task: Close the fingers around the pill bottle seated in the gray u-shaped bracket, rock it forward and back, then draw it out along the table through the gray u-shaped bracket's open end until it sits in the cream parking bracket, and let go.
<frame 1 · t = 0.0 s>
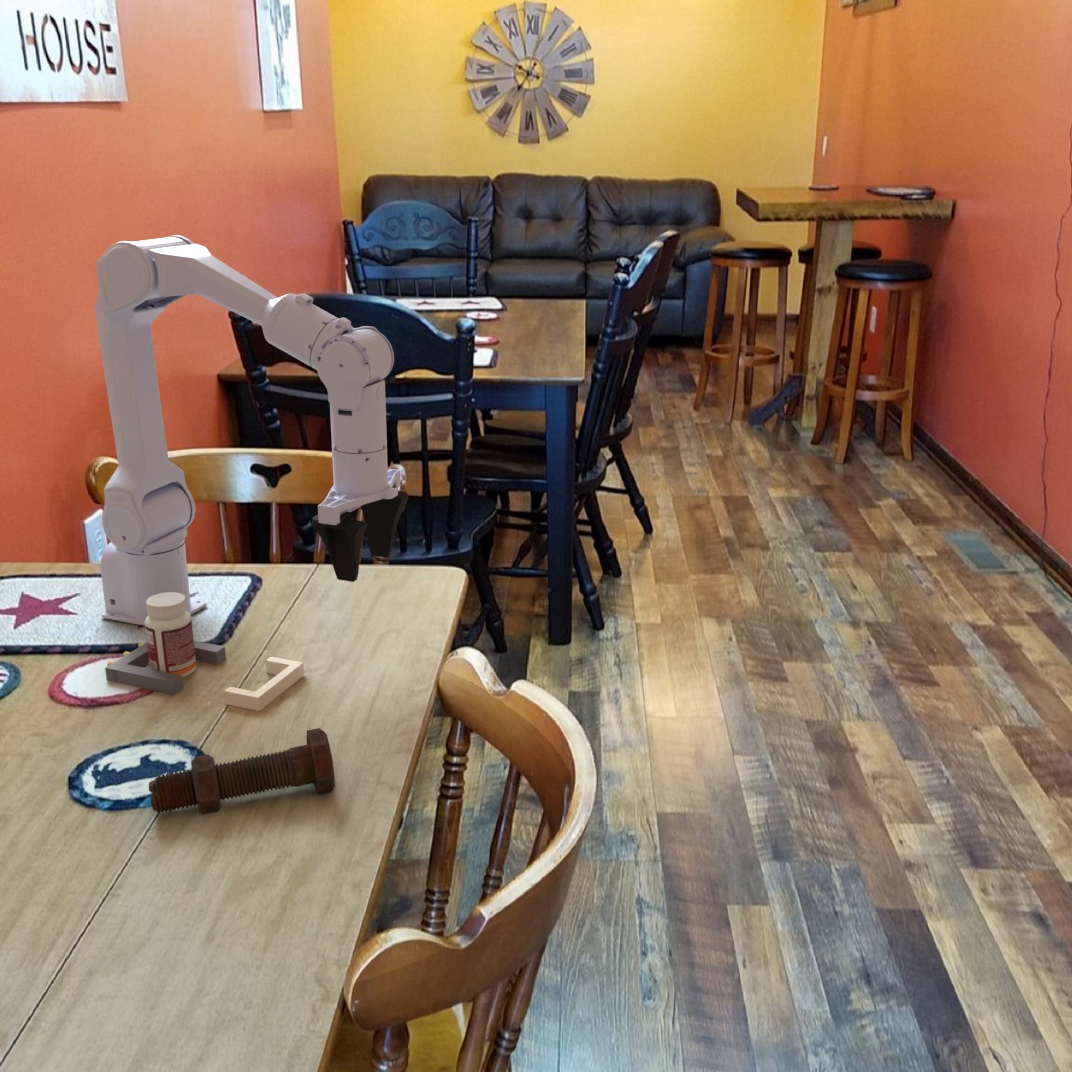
hand: (364, 567, 122), 10 cm above the table, fingers open, 7 cm apart
pill bottle: (173, 672, 120), on the table
bolt: (244, 801, 98), on the table
parking bracket: (278, 691, 116), on the table
gray u-shaped bracket: (173, 670, 120), on the table
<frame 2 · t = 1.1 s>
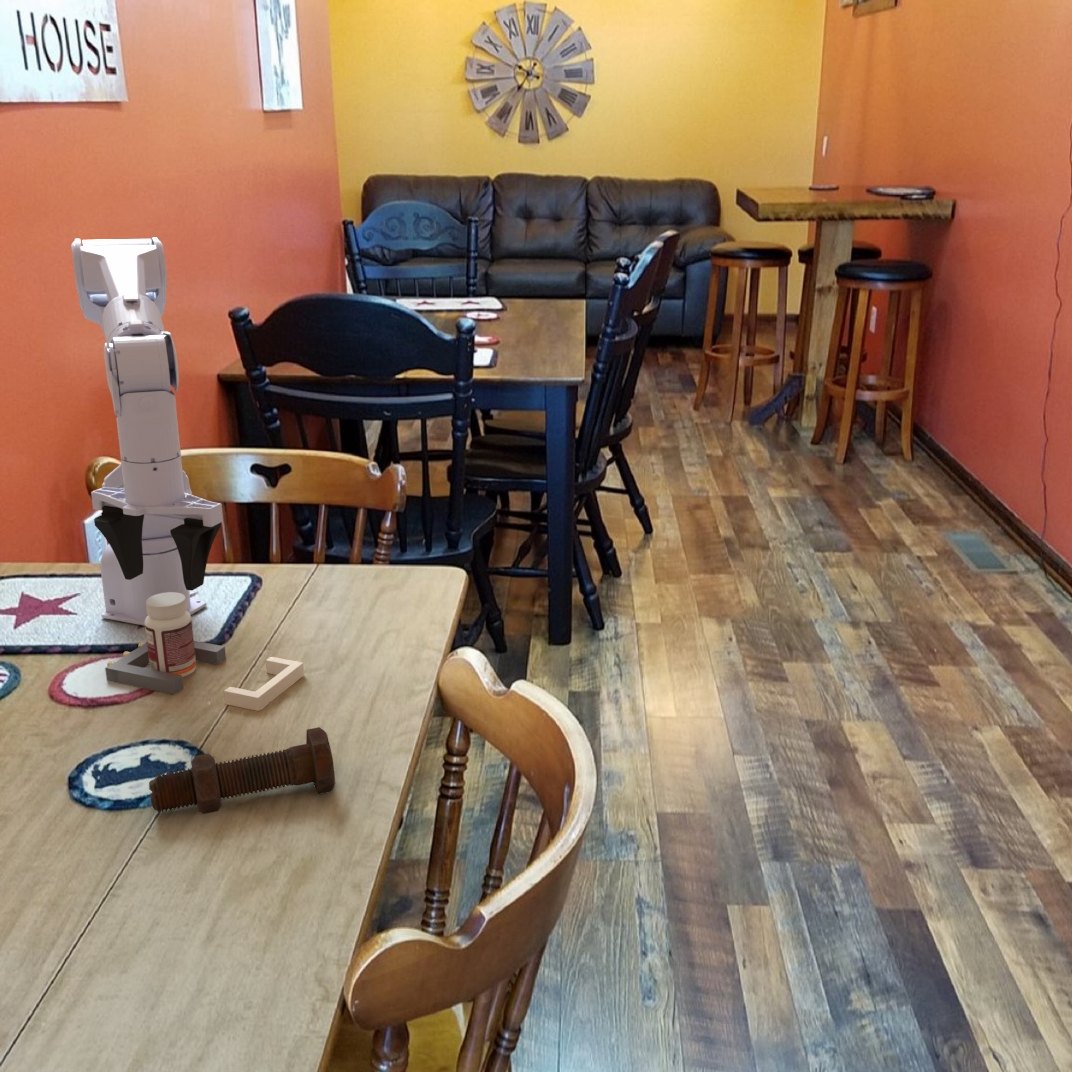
hand: (164, 581, 117), 10 cm above the table, fingers open, 7 cm apart
nothing on the table moved.
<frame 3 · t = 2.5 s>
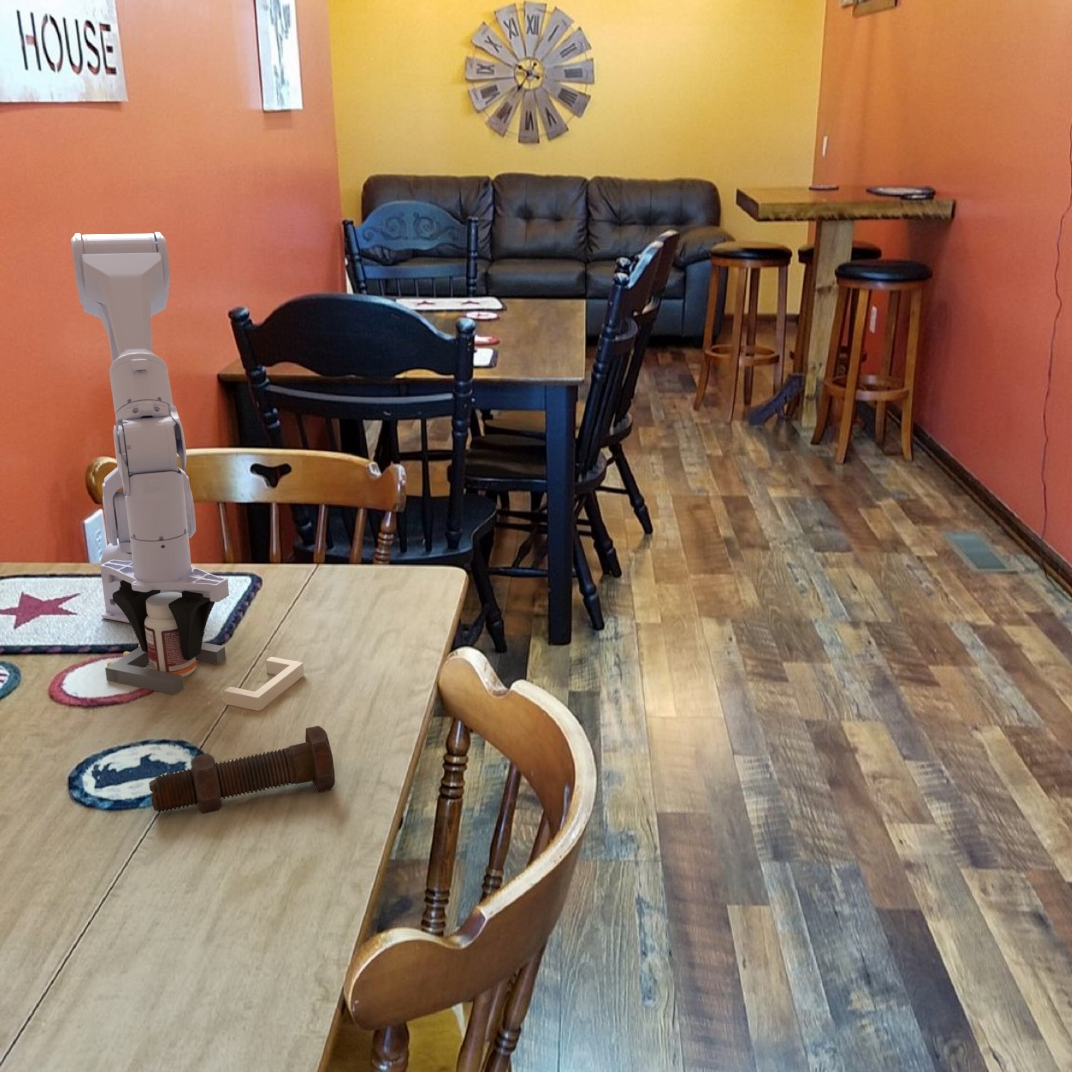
hand: (171, 652, 119), 2 cm above the table, fingers closed on pill bottle, 5 cm apart
pill bottle: (173, 672, 120), on the table, touching gripper
everything else where it was.
when the fingers open (2 cm above the table, at t = 4.0 s): pill bottle stays where it is, on the table.
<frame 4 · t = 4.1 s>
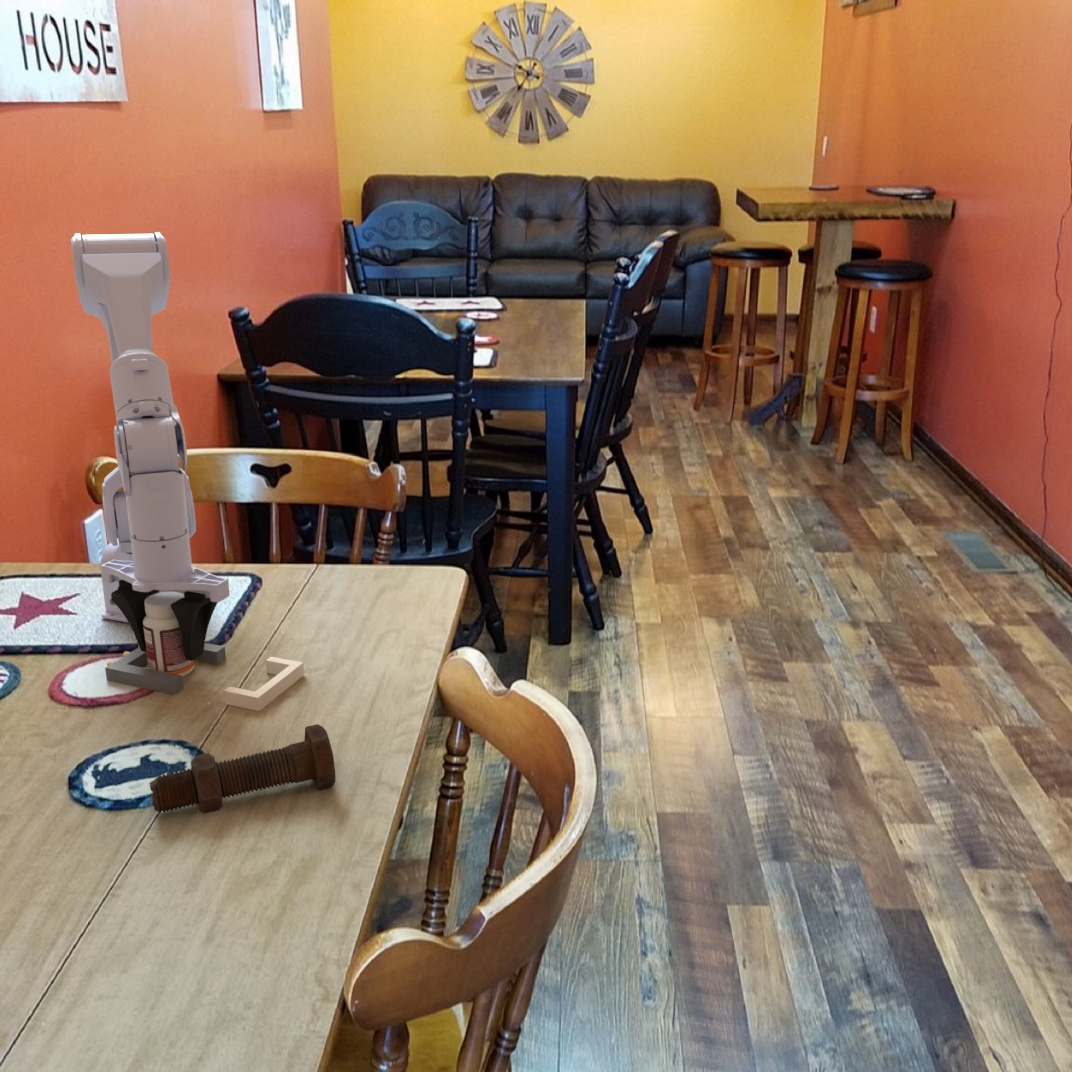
hand: (172, 652, 119), 2 cm above the table, fingers open, 5 cm apart
pill bottle: (172, 672, 120), on the table, touching gripper
everything else where it was.
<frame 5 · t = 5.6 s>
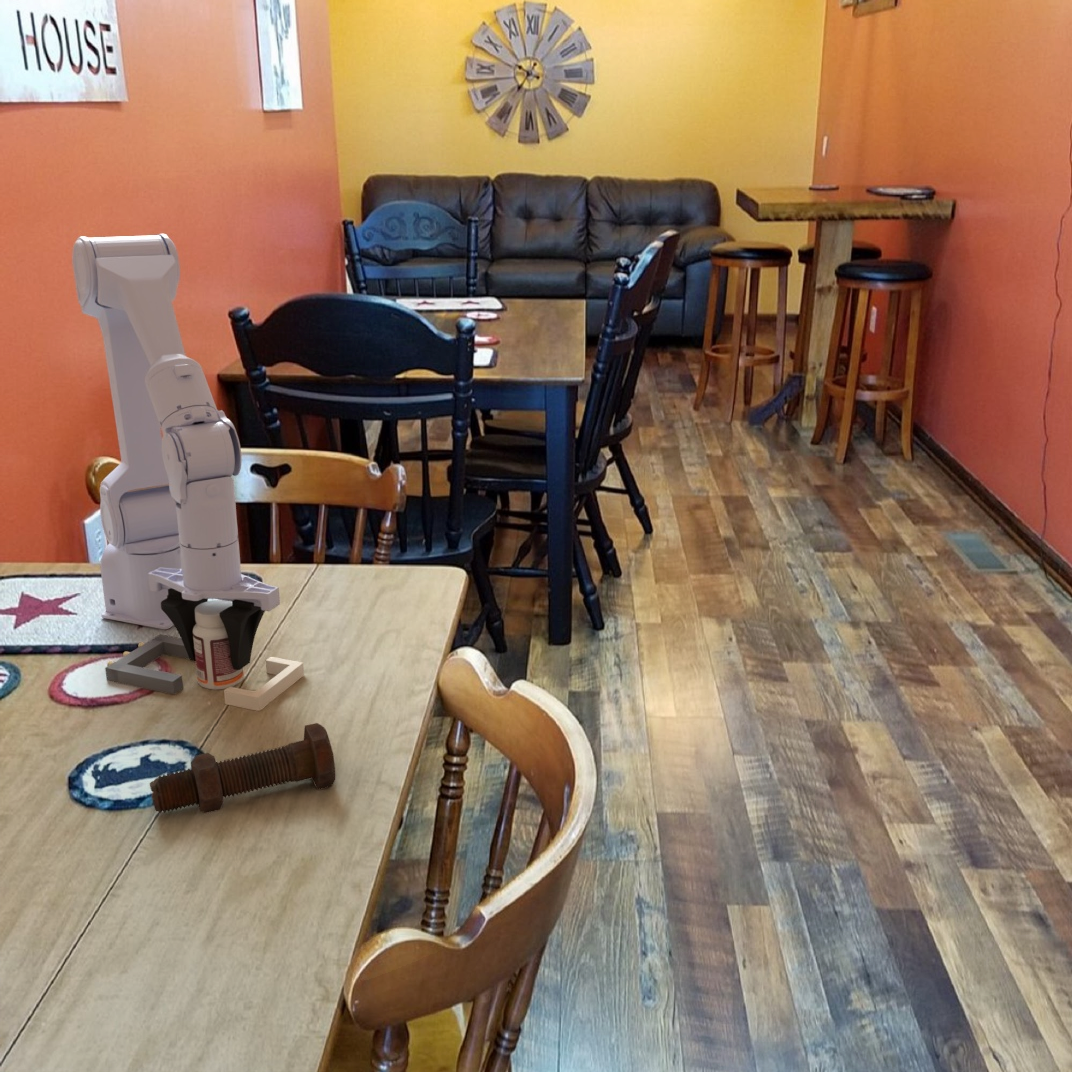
hand: (219, 661, 117), 2 cm above the table, fingers open, 5 cm apart
pill bottle: (220, 681, 118), on the table, touching gripper
everything else where it was.
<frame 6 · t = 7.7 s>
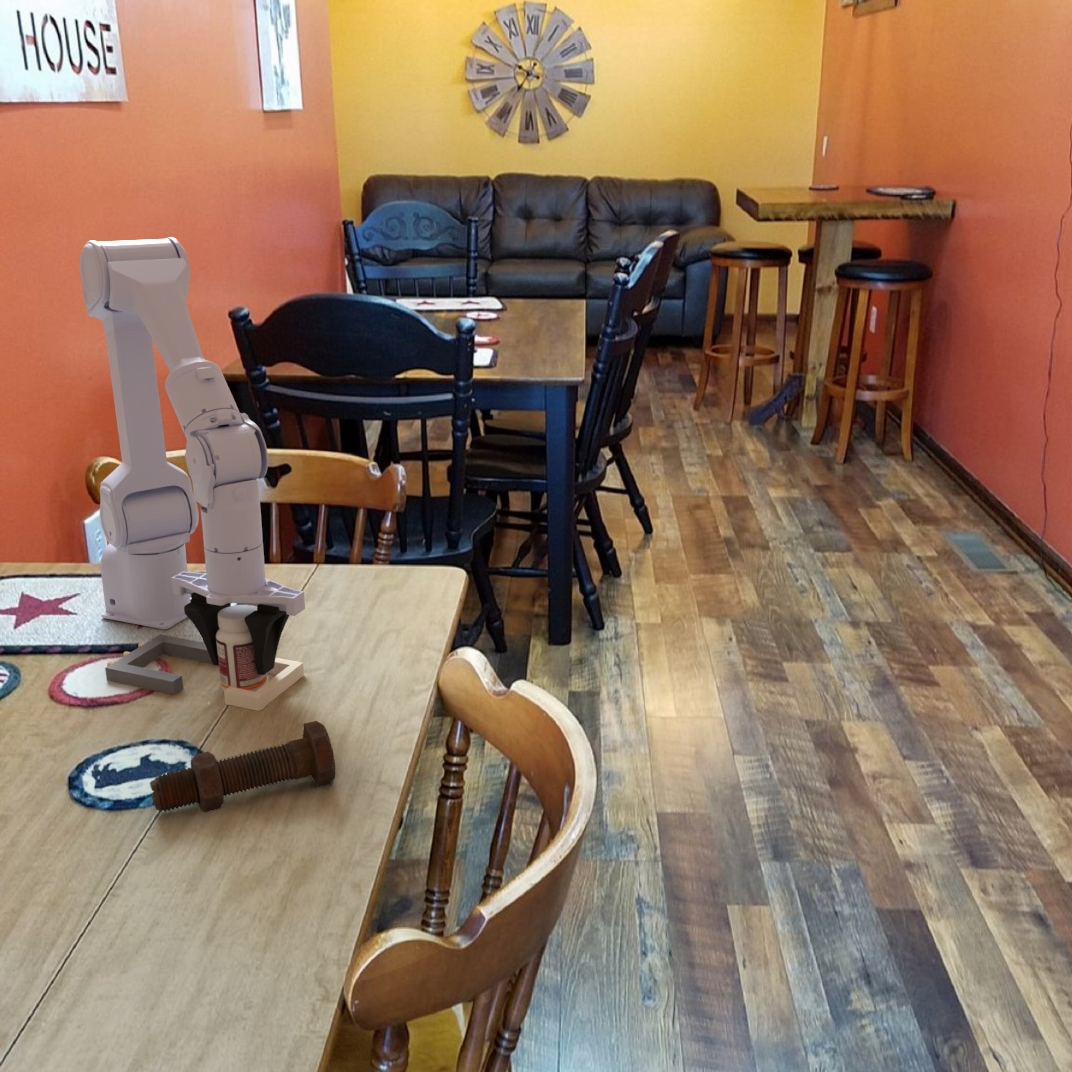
hand: (243, 666, 117), 2 cm above the table, fingers closed on pill bottle, 5 cm apart
pill bottle: (244, 687, 117), on the table, touching gripper
everything else where it was.
when the fingers open (2 cm above the table, at t = 7.7 s): pill bottle stays where it is, on the table.
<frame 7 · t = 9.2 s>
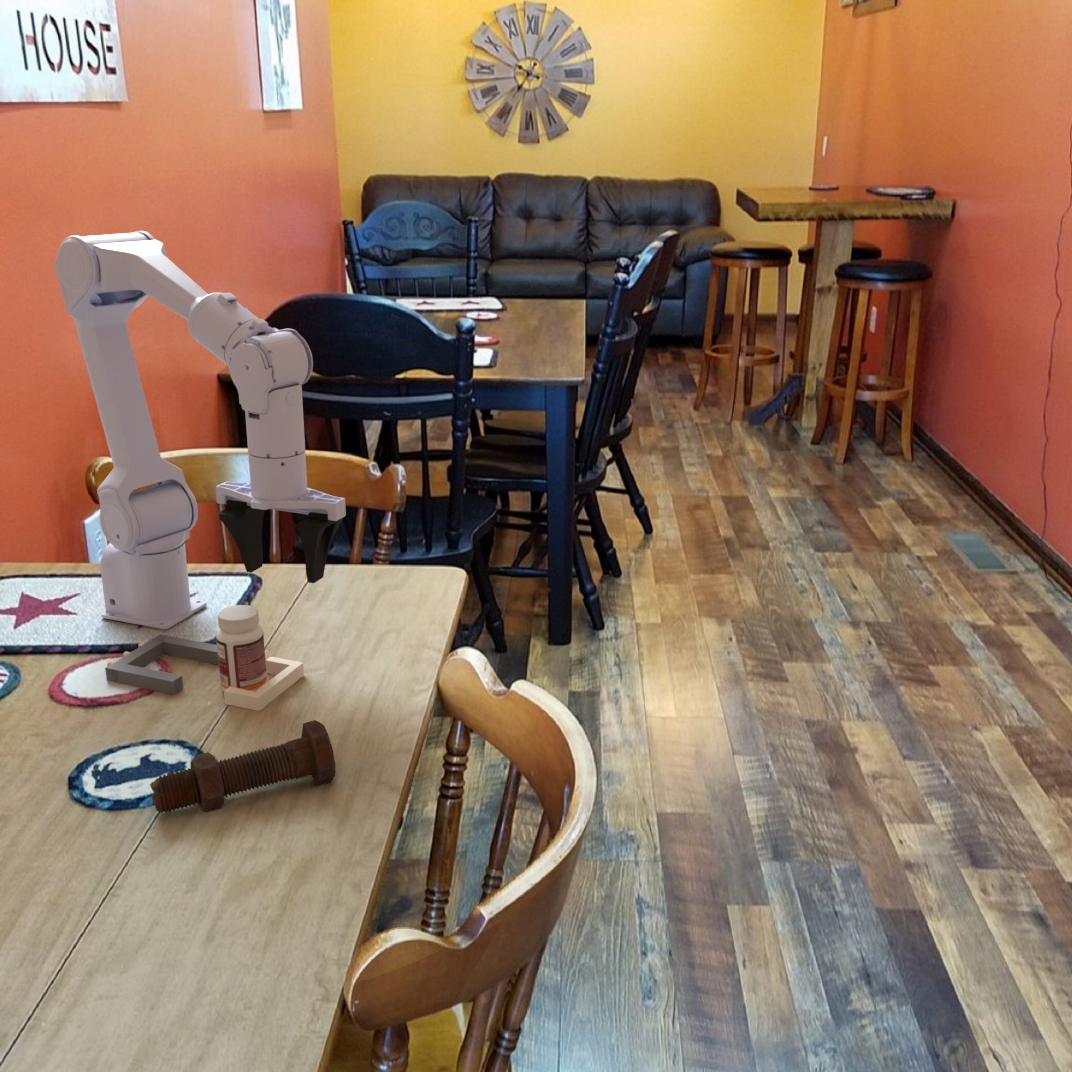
hand: (284, 574, 119), 10 cm above the table, fingers open, 7 cm apart
pill bottle: (244, 687, 117), on the table
everything else where it was.
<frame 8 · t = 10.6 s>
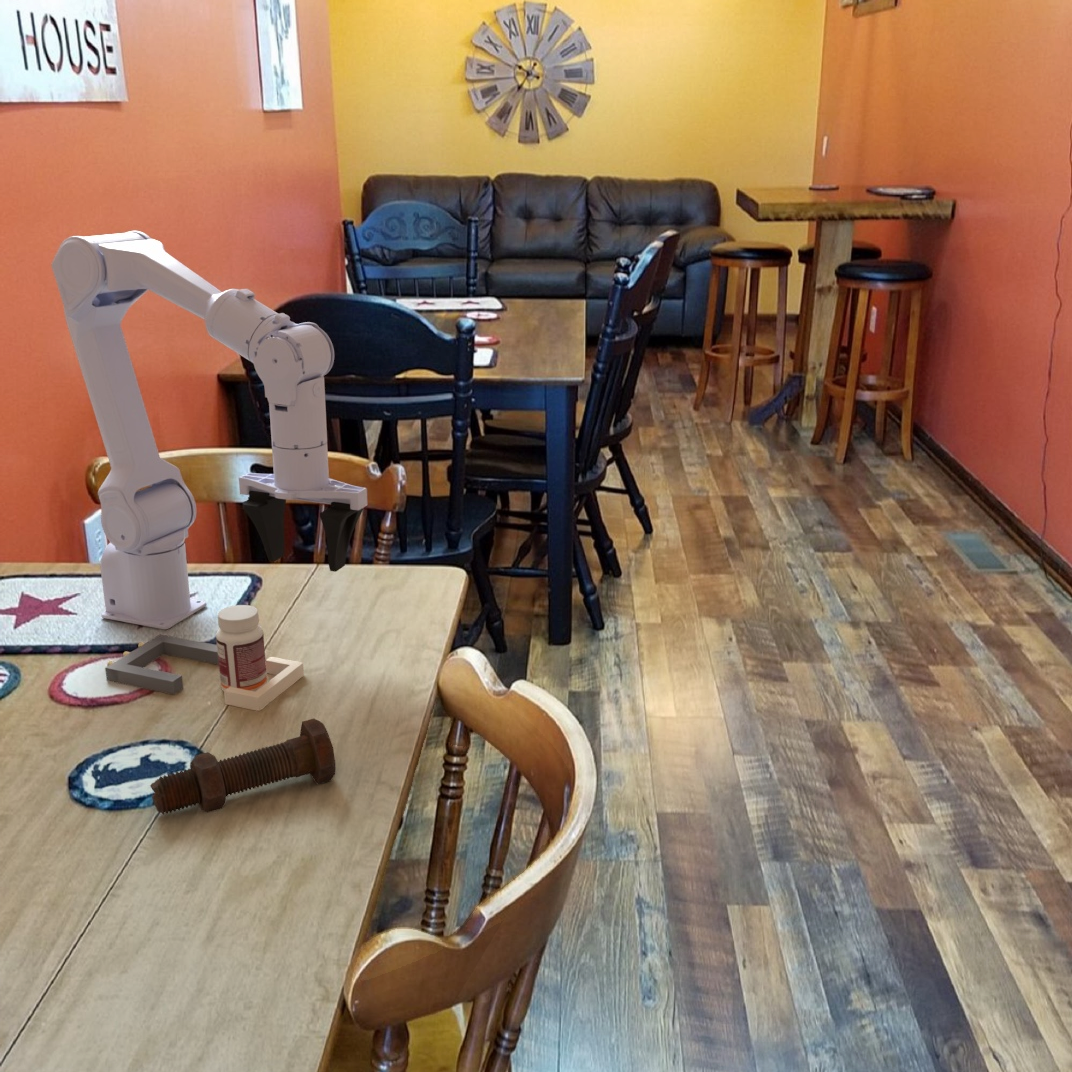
hand: (306, 563, 122), 10 cm above the table, fingers open, 7 cm apart
nothing on the table moved.
at the end: pill bottle 0.1 cm from the target spot, on the table; pill bottle tilted 0°; the gripper is holding nothing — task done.
